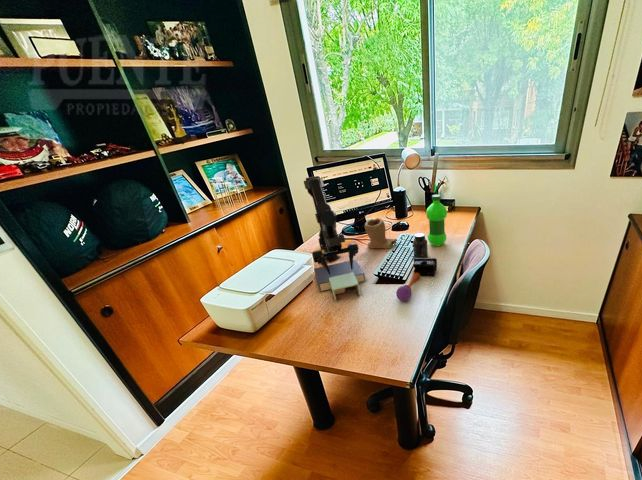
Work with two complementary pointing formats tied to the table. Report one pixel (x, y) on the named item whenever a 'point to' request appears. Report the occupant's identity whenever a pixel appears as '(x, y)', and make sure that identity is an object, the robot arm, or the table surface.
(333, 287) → the green arch-shaped block
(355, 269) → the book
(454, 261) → the table surface
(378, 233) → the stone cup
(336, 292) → the cream block
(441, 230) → the plastic bottle
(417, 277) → the kendama
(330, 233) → the robot arm
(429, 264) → the end cap
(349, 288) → the walnut block
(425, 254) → the supplement bottle
